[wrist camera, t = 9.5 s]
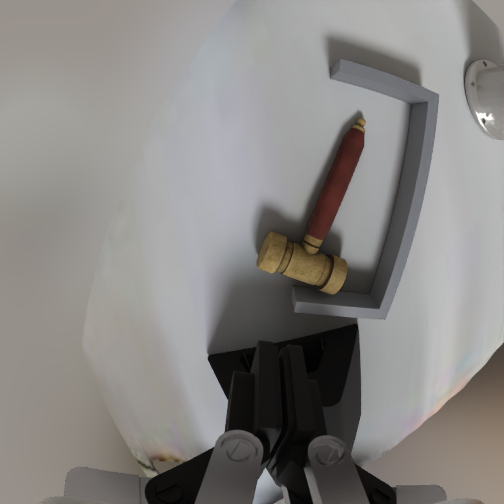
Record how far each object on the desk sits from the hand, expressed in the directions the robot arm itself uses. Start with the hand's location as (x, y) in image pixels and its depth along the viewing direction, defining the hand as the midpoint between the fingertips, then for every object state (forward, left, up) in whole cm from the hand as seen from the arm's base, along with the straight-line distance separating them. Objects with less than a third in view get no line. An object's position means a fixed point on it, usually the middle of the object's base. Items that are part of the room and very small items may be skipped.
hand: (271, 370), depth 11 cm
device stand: (-10, +28, -25) cm, 39 cm away
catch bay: (-12, -5, -25) cm, 28 cm away
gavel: (-7, -3, -26) cm, 27 cm away
